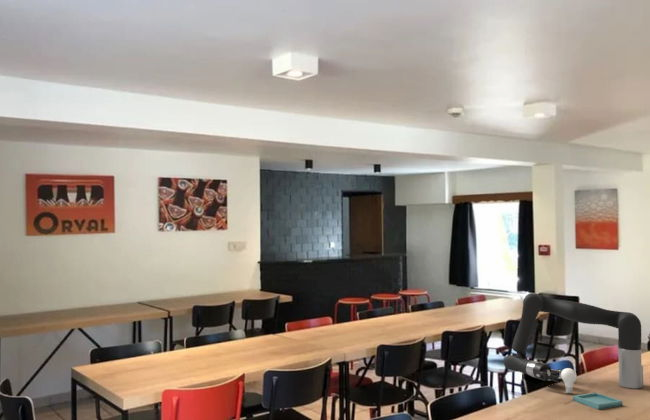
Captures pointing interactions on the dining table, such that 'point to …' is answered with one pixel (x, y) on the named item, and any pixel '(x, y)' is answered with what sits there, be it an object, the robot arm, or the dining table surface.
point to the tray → (597, 400)
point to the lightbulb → (568, 378)
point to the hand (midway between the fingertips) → (565, 378)
